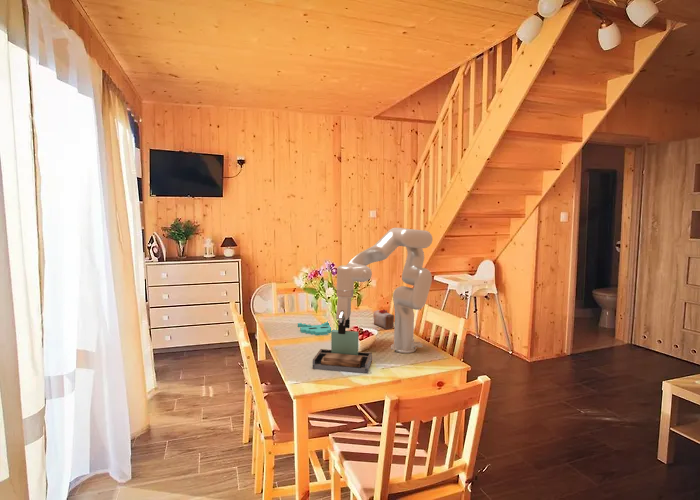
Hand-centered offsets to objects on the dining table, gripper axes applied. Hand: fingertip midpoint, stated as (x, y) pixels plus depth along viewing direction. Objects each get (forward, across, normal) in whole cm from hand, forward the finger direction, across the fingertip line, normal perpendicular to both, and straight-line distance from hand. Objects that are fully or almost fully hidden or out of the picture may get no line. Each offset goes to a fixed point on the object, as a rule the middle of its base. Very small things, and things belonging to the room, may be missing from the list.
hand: (343, 330), depth 193 cm
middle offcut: (+13, +6, 0) cm, 14 cm away
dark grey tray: (+16, +4, +1) cm, 16 cm away
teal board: (+14, -1, +1) cm, 14 cm away
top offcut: (+11, +6, +1) cm, 13 cm away
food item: (+14, -63, +12) cm, 65 cm away
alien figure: (+16, -47, -24) cm, 56 cm away
